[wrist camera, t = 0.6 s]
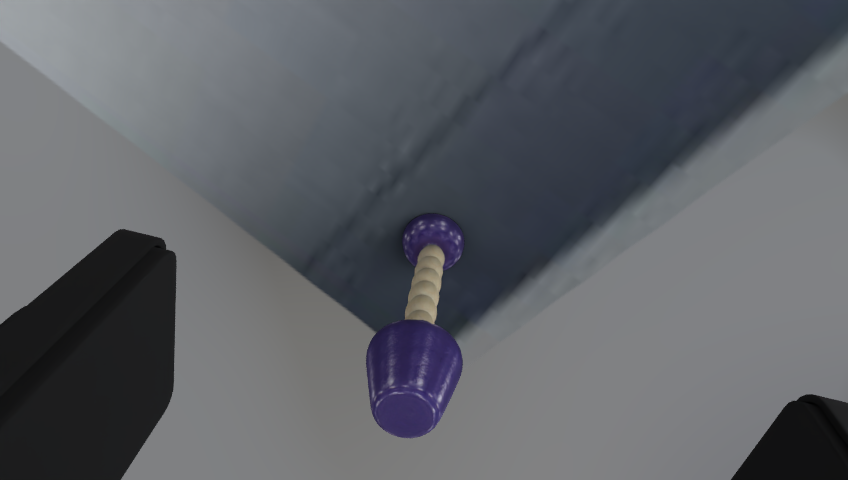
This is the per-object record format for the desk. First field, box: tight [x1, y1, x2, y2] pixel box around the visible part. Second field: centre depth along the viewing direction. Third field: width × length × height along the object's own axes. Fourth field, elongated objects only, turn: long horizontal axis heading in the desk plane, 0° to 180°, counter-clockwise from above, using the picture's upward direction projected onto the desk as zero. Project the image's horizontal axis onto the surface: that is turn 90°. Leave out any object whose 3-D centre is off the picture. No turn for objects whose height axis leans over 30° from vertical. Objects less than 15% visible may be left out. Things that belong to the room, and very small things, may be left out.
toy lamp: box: [366, 214, 464, 438], centre depth 32 cm, size 5×5×17 cm
